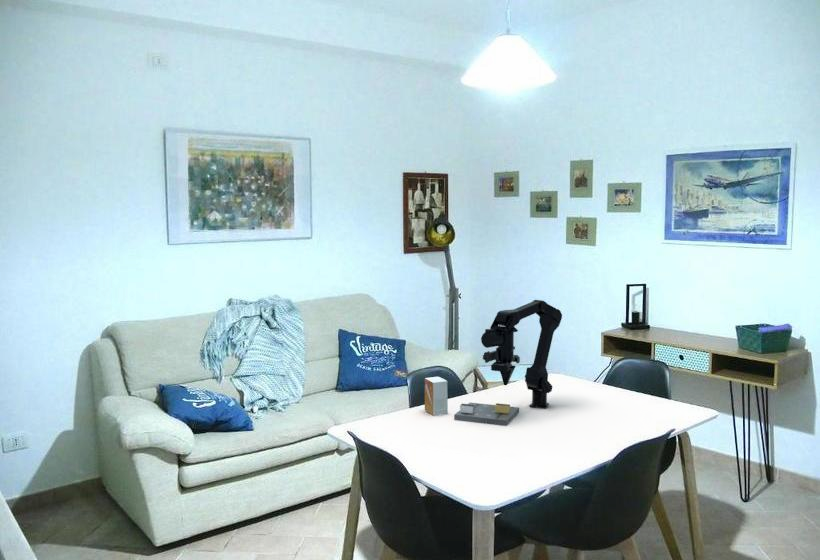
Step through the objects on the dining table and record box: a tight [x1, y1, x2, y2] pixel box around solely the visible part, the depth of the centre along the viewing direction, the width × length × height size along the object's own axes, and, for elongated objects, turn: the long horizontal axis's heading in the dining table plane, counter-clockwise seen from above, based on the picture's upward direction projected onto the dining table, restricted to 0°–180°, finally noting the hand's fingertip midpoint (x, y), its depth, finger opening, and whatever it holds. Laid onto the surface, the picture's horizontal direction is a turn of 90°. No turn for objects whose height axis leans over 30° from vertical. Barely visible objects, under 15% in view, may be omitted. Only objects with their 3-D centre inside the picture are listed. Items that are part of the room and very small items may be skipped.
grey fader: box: [459, 403, 475, 414], centre depth 271 cm, size 3×5×3 cm, turn 67°
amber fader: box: [494, 402, 511, 413], centre depth 271 cm, size 3×5×3 cm, turn 67°
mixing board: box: [453, 402, 520, 427], centre depth 274 cm, size 18×20×2 cm
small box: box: [424, 376, 449, 416], centre depth 279 cm, size 8×6×13 cm
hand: (505, 385), depth 274 cm, fingers closed
